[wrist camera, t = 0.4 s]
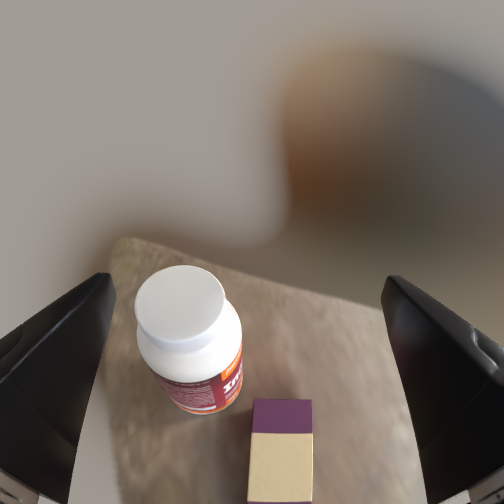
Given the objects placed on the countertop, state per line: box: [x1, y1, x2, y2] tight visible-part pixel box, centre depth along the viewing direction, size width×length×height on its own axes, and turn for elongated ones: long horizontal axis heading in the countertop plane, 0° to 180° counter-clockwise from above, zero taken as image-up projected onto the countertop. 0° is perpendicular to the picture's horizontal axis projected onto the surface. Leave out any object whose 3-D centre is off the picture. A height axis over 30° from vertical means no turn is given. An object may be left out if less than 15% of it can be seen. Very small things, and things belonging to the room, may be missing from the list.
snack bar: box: [247, 398, 313, 504], centre depth 17 cm, size 10×4×2 cm, turn 177°
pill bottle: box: [134, 265, 243, 415], centre depth 19 cm, size 6×6×11 cm
